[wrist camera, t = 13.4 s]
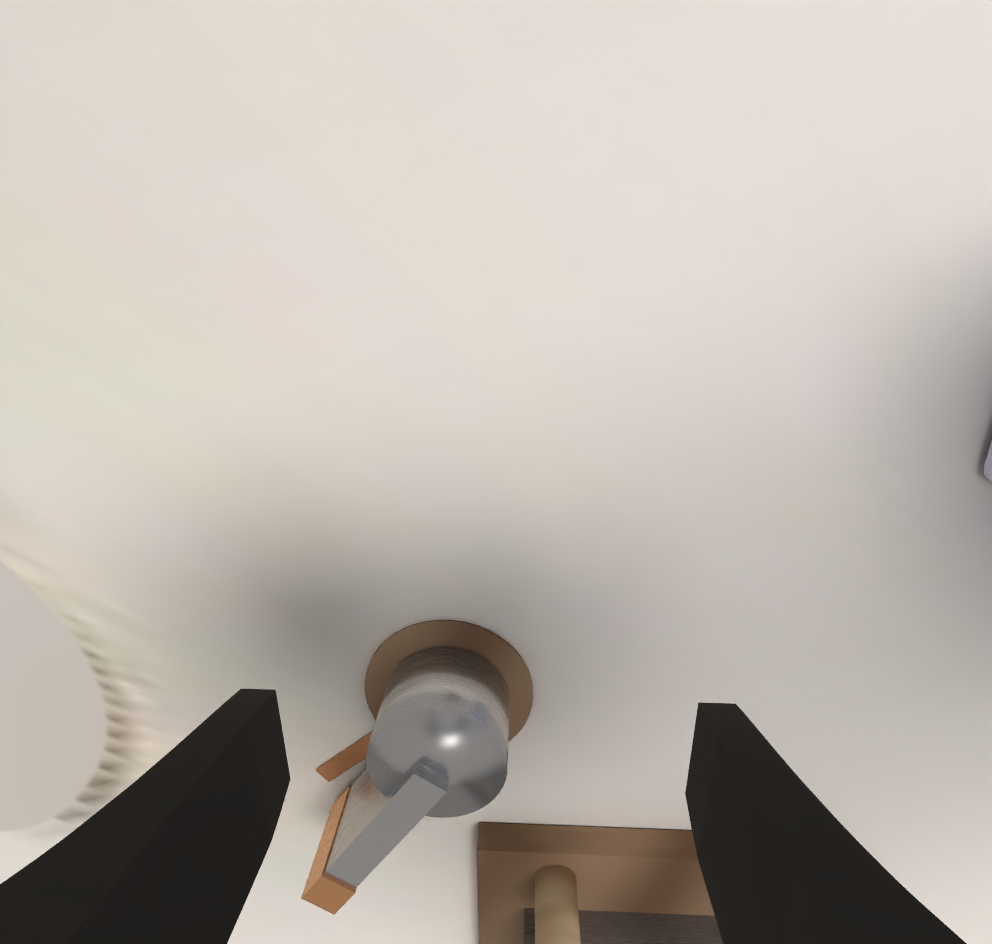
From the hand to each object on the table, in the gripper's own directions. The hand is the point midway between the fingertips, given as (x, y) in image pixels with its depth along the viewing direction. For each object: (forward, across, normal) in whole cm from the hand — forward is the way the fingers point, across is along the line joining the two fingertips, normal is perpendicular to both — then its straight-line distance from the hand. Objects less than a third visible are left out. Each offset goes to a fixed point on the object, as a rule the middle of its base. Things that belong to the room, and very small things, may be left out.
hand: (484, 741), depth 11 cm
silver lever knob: (+9, +3, +10) cm, 14 cm away
